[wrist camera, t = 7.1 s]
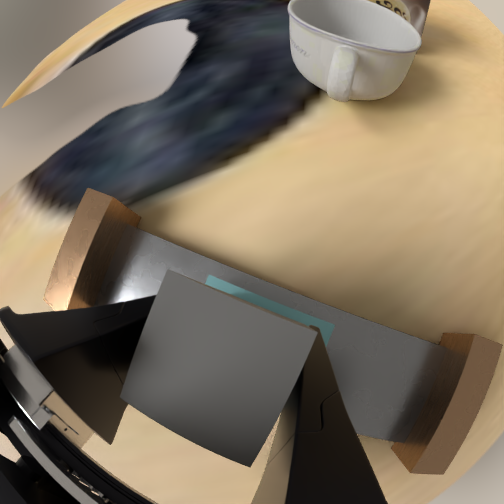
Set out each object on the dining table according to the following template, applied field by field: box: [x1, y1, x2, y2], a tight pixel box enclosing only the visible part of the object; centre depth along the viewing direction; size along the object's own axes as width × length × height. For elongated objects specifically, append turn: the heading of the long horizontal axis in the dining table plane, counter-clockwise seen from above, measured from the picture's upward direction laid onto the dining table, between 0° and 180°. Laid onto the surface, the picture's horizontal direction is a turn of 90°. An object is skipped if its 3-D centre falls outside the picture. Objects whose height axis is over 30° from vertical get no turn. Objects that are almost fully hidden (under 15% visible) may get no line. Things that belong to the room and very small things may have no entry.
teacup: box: [288, 0, 422, 102], centre depth 17 cm, size 14×11×8 cm
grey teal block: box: [120, 269, 335, 467], centre depth 10 cm, size 7×5×9 cm
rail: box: [43, 188, 502, 474], centre depth 15 cm, size 30×9×4 cm, turn 67°
